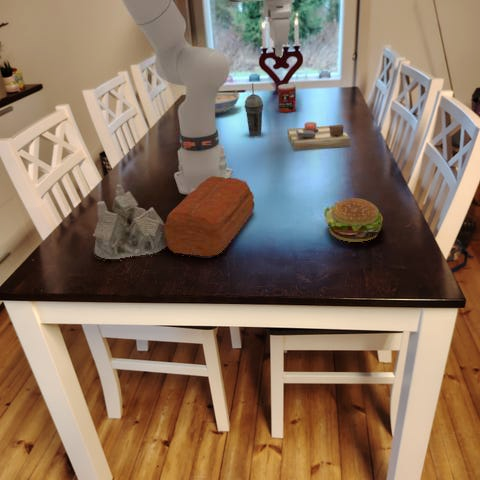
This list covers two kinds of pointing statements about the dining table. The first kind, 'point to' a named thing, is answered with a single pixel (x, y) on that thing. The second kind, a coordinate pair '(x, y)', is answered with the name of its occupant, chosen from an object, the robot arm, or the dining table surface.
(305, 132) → the charcoal rocker switch
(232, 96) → the ramen bowl
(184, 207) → the bread
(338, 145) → the control board
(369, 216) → the food
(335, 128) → the walnut slider knob
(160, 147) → the dining table surface
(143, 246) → the ceramic cottage
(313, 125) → the brick-red push button
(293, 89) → the canned food
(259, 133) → the beverage cup
